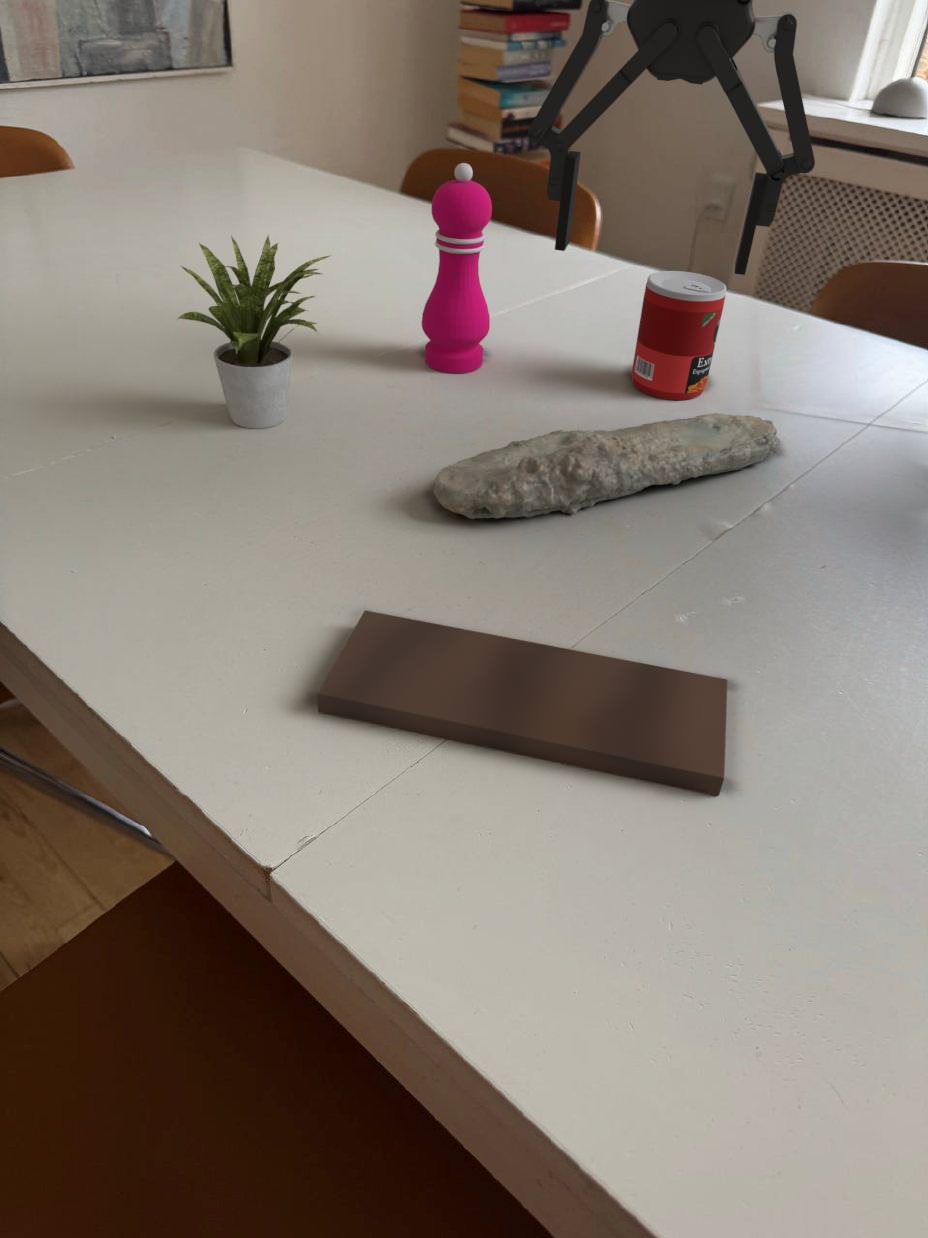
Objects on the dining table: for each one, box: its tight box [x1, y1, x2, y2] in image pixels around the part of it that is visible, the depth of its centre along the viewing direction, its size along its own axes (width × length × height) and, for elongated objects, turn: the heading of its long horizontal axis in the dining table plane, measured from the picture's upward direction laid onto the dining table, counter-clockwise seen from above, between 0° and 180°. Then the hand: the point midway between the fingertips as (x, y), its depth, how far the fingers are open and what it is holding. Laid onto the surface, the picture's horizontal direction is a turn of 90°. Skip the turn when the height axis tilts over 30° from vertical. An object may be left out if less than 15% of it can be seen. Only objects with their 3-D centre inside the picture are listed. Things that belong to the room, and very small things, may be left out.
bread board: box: [316, 609, 728, 797], centre depth 60 cm, size 24×9×2 cm, turn 76°
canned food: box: [631, 270, 727, 401], centre depth 100 cm, size 8×8×11 cm
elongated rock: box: [433, 412, 781, 520], centre depth 84 cm, size 35×5×10 cm
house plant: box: [177, 234, 333, 430], centre depth 85 cm, size 14×14×16 cm
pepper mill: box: [421, 162, 493, 374], centre depth 99 cm, size 7×7×20 cm
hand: (649, 257), depth 74 cm, fingers open, 13 cm apart
